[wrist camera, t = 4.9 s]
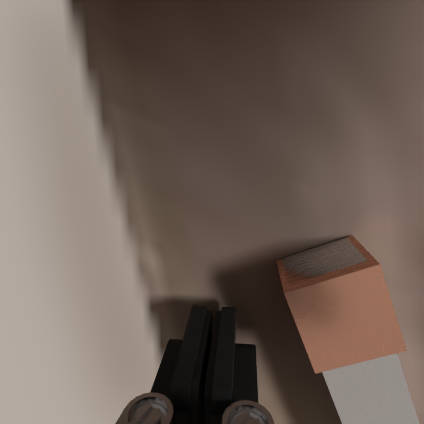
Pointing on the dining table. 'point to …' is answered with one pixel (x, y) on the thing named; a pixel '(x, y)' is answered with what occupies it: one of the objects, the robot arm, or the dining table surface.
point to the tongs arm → (349, 330)
